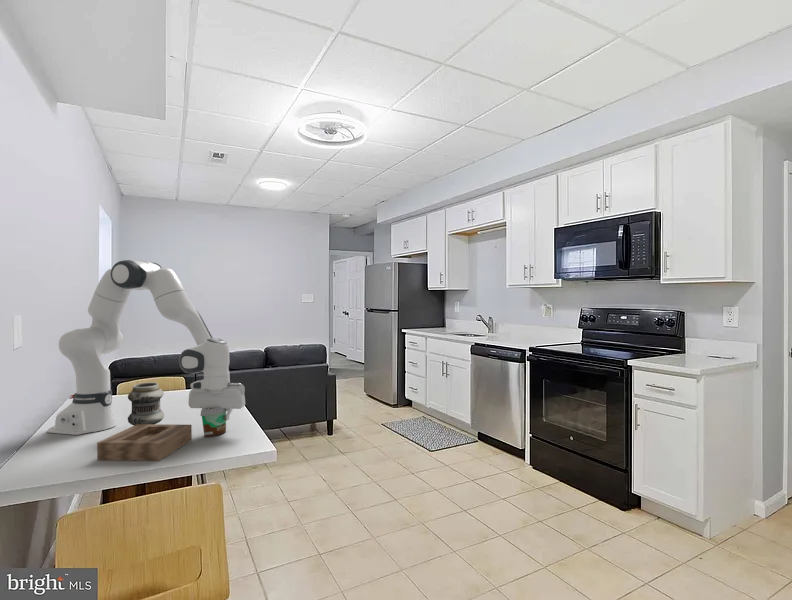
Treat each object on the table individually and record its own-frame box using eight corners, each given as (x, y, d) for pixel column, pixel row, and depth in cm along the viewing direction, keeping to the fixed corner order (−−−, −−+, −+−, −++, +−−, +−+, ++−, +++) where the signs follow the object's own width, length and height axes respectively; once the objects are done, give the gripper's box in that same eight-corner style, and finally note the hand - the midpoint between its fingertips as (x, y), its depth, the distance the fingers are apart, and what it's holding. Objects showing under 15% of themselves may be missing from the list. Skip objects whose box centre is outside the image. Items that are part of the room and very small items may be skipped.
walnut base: (97, 460, 144) (97, 442, 144) (136, 439, 164) (136, 424, 164) (159, 460, 143) (159, 443, 143) (191, 440, 163) (191, 424, 163)
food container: (217, 438, 164) (215, 409, 164) (201, 438, 165) (200, 410, 165) (235, 427, 176) (234, 401, 176) (220, 428, 177) (219, 402, 177)
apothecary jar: (137, 439, 164) (136, 389, 164) (122, 433, 172) (121, 385, 171) (170, 430, 174) (169, 383, 174) (155, 425, 181) (154, 380, 181)
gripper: (247, 381, 173) (248, 418, 173) (194, 380, 174) (194, 417, 174) (241, 384, 166) (241, 422, 167) (186, 384, 167) (186, 422, 168)
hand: (217, 420), depth 170 cm, fingers closed on food container, 6 cm apart
